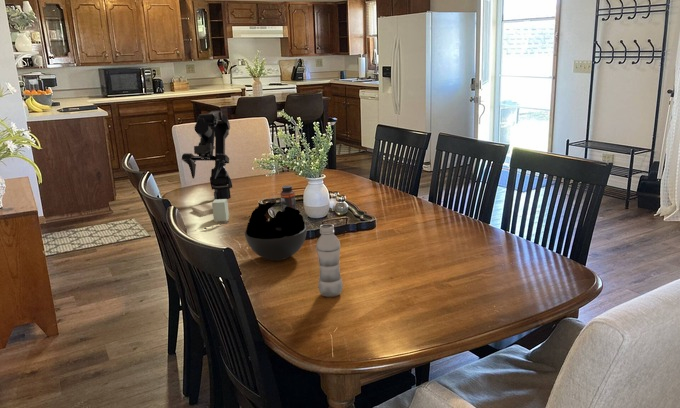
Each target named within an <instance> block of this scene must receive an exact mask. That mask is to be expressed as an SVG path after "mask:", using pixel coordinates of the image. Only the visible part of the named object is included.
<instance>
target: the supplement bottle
mask: <svg viewBox="0 0 680 408" xmlns="http://www.w3.org/2000/svg"><path fill="white" fill-rule="evenodd" d="M281 190H282V191H281V192H280V202H281V203H280V204H281V212H282V211H286V210H285V208H286V207H291V208H294V209H297V203H296V193H295V191H294V190H293V186H292V185H289V184H288V185H283V186H282V188H281Z"/></svg>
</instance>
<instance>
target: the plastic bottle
mask: <svg viewBox="0 0 680 408" xmlns="http://www.w3.org/2000/svg"><path fill="white" fill-rule="evenodd" d="M319 234H320V235H319V238H318V239H317V241H316V245H315V249H316V251H317V258H318V267H319V278H318V291H319V293H320V294H321V296H323V297H326V298H333V297H337V296H339V295H340V294H341V293H342V291H343V286H344V285H343V279H342V276H341V269H340V252H341V242H340V240H339V239H338V237H337V236H336V235H335V227H334V224H331V223H326V224H324V223H323V224H321V225H319Z"/></svg>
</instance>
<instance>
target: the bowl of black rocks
mask: <svg viewBox="0 0 680 408" xmlns="http://www.w3.org/2000/svg"><path fill="white" fill-rule="evenodd" d="M275 204H277V202H271V201H269V202H266V203H262V204H260V205H258V207H256V208H255V209H253V210H252V212H251V214H250V218H249V220H248V222H247V226H246V230H245V231H244V236H245V240H246V242H247V244H248V246H249V248H250V249H251V250H252V251H253V252H254V253H255V254H256V255H258V256H259V257H261V258H263V259H266V260H270V261H282V260H286V259H288V258H290V257H292V256H293V255H295V254H297V252H299V250H300V249H301V248H302V246H303V245H304V243H305V240H306V238H307V235H308V234H307V230H308V228H307V225H306V222H305V220H304V216H303V214H301V211H300V210H299V209H297V208H296V209H294V208H291V207H286V208H285V210H286V211H282V210H278V211H277V212H276V214H275V216H273V217H272V218H271V220H269V221H268V217H267V216H266V213H267V212H268V211H269V210H270V209H271V208H272V207H273V206H274V205H275Z"/></svg>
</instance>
